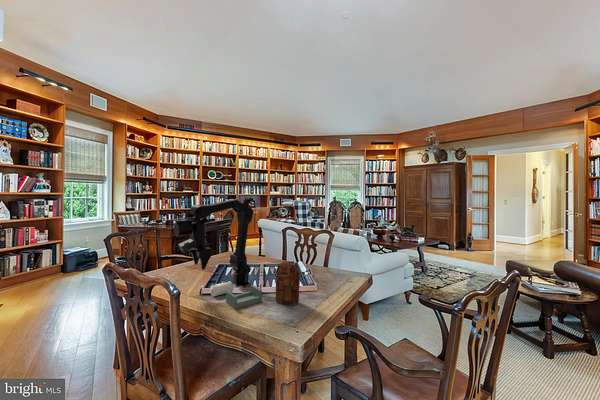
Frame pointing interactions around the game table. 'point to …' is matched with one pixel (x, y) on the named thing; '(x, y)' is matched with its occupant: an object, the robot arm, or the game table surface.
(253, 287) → the grey-green grooved block
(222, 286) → the roll
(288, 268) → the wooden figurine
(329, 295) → the game table surface
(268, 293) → the game table surface
